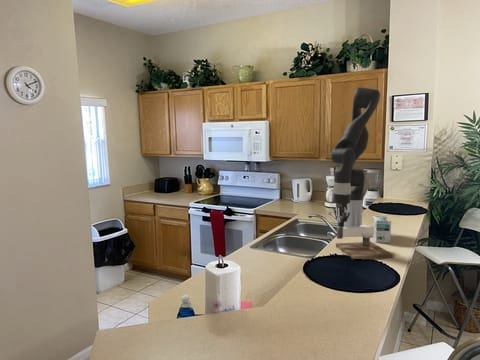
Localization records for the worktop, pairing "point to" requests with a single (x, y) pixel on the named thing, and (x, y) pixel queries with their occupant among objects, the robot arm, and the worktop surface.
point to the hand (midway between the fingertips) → (340, 229)
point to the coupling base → (363, 250)
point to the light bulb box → (381, 229)
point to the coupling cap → (355, 231)
